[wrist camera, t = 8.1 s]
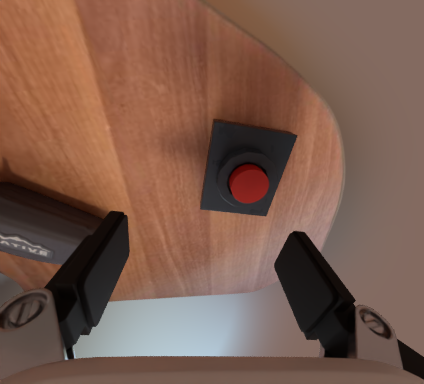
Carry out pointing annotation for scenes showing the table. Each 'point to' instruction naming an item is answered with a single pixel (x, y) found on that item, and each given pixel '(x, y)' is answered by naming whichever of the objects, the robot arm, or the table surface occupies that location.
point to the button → (248, 183)
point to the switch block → (240, 155)
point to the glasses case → (41, 225)
